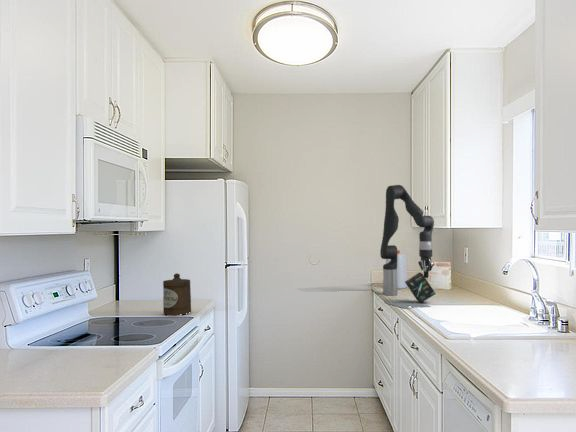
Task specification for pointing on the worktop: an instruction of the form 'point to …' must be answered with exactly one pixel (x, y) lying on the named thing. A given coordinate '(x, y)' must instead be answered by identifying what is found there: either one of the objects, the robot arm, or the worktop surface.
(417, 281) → the tampon box
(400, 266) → the plastic bottle
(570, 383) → the worktop surface
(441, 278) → the coffeecake box
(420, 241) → the robot arm
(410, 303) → the display mat
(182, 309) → the wooden container
